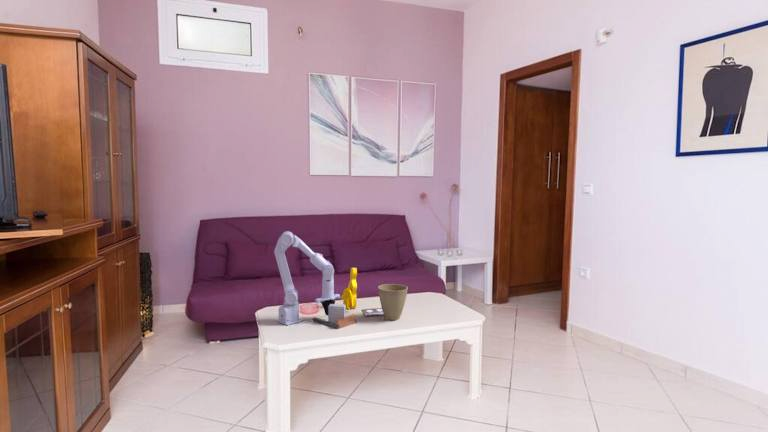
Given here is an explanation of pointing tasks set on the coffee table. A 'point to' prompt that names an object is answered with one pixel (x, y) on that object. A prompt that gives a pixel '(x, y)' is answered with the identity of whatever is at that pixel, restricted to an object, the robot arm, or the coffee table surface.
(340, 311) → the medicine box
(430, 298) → the coffee table surface
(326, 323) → the grey and brown pieces
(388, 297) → the plant pot
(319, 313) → the coffee table surface
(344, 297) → the figure statuette
